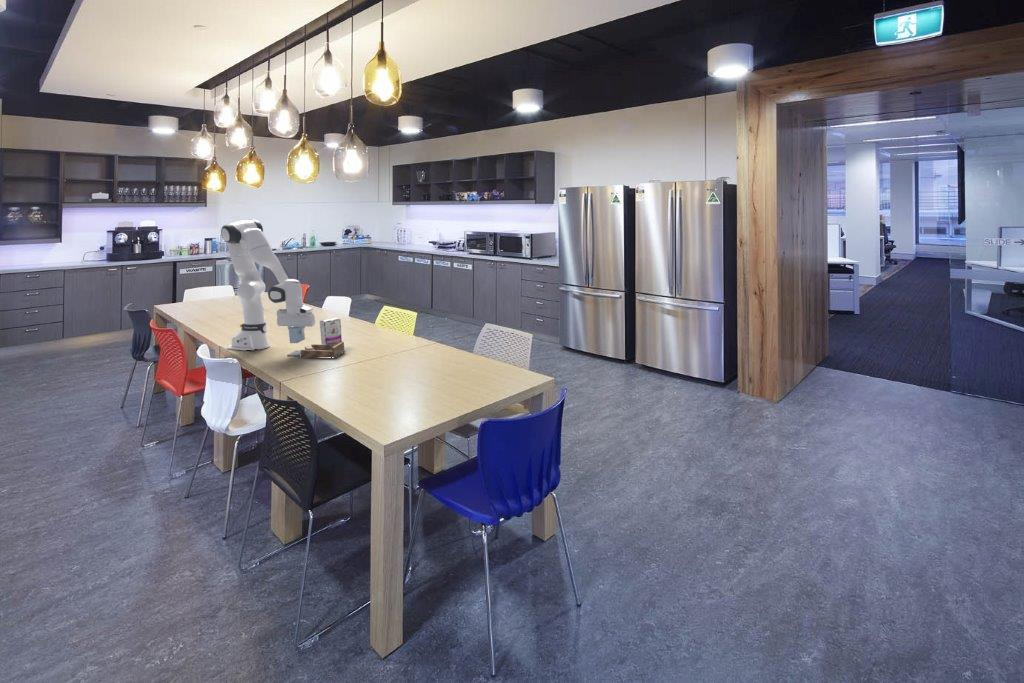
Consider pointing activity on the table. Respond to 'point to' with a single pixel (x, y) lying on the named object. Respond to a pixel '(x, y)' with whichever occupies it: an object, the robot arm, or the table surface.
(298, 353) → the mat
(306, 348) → the offcut short
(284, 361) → the table surface
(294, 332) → the blue-grey box
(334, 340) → the candy bar box
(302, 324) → the robot arm
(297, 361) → the table surface
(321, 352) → the tray
